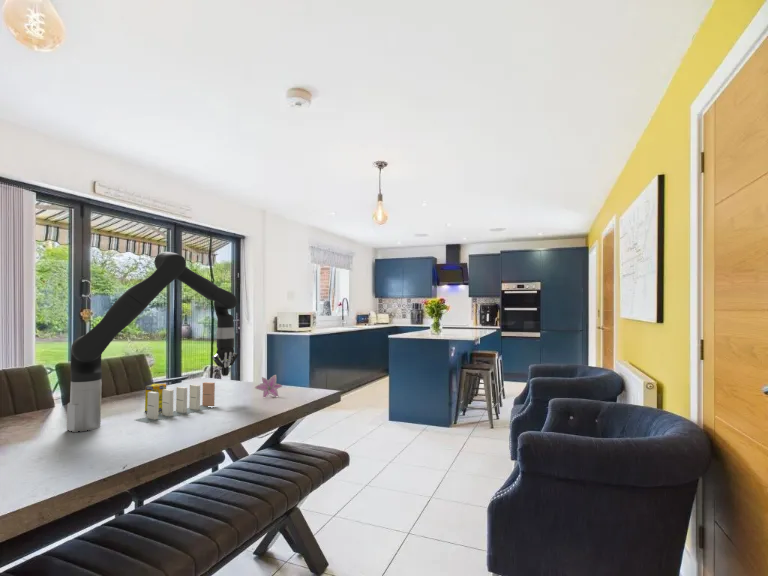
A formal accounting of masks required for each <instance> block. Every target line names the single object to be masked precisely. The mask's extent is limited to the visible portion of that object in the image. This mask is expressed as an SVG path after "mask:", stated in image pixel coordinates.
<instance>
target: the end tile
mask: <svg viewBox="0 0 768 576" xmlns="http://www.w3.org/2000/svg"><path fill="white" fill-rule="evenodd" d="M158 410H159V393H158V392H152V391H151V392H148V398H147V412H146V417H147V418H149V419H153V420H155V419H158V415H159V412H158Z"/></svg>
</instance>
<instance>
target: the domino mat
mask: <svg viewBox="0 0 768 576" xmlns="http://www.w3.org/2000/svg"><path fill="white" fill-rule="evenodd" d="M210 409H215V408H214V407H213V408H211V407H208V406H202V404H200V409H199V410H193V409H189V407H187V412H186V413H180V412H176V410H173V416H166V415H162V413H158V419H155V420H153V419H149V418H147V416H145V417H141V418H135V421H137V422H141V423H145V424H149V423H154V422H157V421H162V420H167V419H171V418H175V417H180V416H185V415H188V414H189V415H190V414H193V413H197V412H202V411H206V410H207V411H208V410H210Z"/></svg>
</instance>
